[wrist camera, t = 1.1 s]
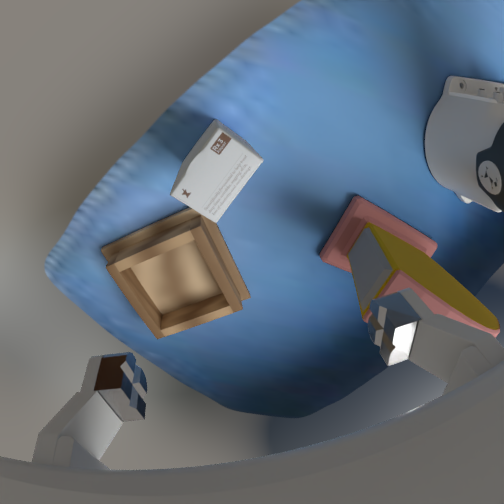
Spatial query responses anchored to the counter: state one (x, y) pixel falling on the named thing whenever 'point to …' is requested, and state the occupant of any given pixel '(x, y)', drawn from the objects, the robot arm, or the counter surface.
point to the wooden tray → (177, 273)
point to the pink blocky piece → (398, 265)
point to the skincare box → (215, 171)
